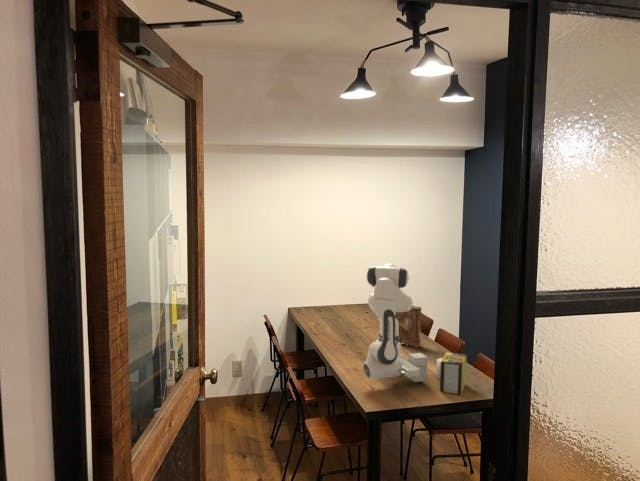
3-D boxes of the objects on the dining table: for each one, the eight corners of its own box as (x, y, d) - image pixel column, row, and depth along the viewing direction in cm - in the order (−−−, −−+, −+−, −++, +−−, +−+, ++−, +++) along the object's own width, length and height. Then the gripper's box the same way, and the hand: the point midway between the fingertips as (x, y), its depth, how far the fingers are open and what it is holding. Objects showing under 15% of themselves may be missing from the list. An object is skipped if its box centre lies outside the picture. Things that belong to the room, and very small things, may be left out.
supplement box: (427, 381, 247) (428, 357, 246) (414, 382, 245) (415, 358, 244) (419, 375, 254) (420, 352, 253) (407, 377, 252) (408, 353, 251)
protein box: (465, 384, 249) (466, 354, 247) (461, 395, 235) (462, 364, 233) (444, 380, 253) (445, 351, 251) (439, 391, 239) (440, 360, 237)
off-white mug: (452, 380, 253) (453, 363, 253) (436, 379, 255) (437, 362, 254) (451, 373, 263) (451, 357, 262) (436, 372, 265) (436, 356, 264)
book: (421, 345, 312) (422, 307, 310) (417, 347, 308) (418, 309, 306) (397, 340, 322) (399, 303, 319) (394, 342, 317) (395, 305, 315)
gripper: (404, 368, 235) (429, 366, 239) (386, 355, 254) (409, 352, 259) (404, 381, 236) (429, 378, 240) (385, 366, 255) (409, 364, 259)
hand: (419, 365), depth 249 cm, fingers closed on supplement box, 7 cm apart
